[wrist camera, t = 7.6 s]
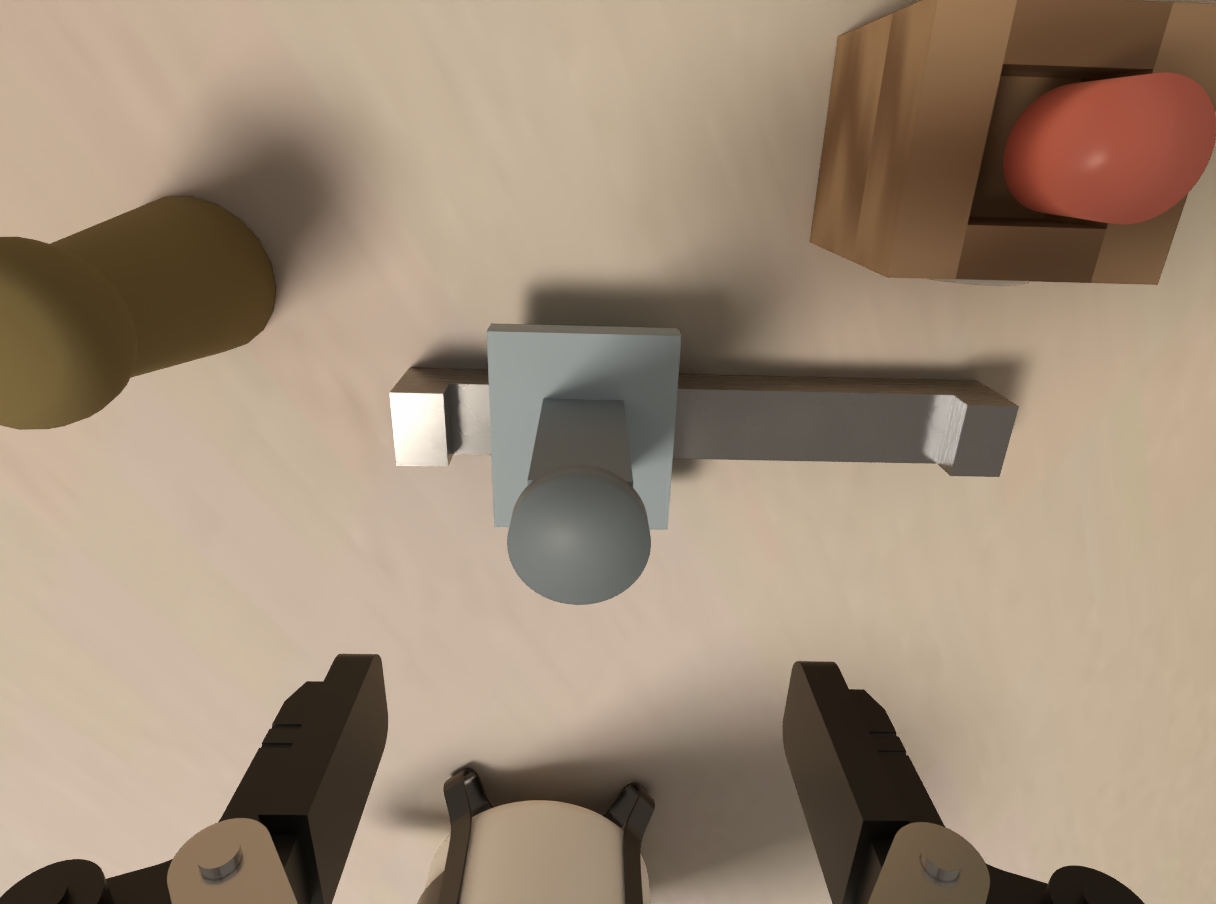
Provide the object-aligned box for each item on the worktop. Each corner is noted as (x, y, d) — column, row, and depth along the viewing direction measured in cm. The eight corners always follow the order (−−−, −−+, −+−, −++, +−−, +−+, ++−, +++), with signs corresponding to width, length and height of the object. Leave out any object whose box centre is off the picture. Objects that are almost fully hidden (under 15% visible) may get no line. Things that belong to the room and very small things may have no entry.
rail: (409, 368, 30) (389, 392, 27) (977, 380, 30) (1018, 406, 27) (415, 434, 31) (396, 465, 28) (961, 445, 32) (999, 476, 29)
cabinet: (837, 36, 25) (939, -8, 18) (1060, 45, 25) (1250, 5, 18) (808, 252, 28) (884, 291, 21) (1007, 258, 28) (1153, 298, 21)
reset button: (1020, 80, 18) (1096, 69, 16) (1141, 85, 18) (1238, 74, 16) (990, 211, 20) (1055, 222, 17) (1104, 214, 20) (1187, 226, 17)
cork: (306, 275, 28) (145, 349, 18) (222, 381, 30) (31, 503, 20) (169, 159, 26) (-95, 169, 16) (87, 279, 28) (-199, 355, 18)
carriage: (497, 311, 29) (444, 407, 18) (672, 315, 29) (717, 413, 18) (503, 490, 32) (460, 658, 21) (660, 493, 32) (693, 661, 22)
